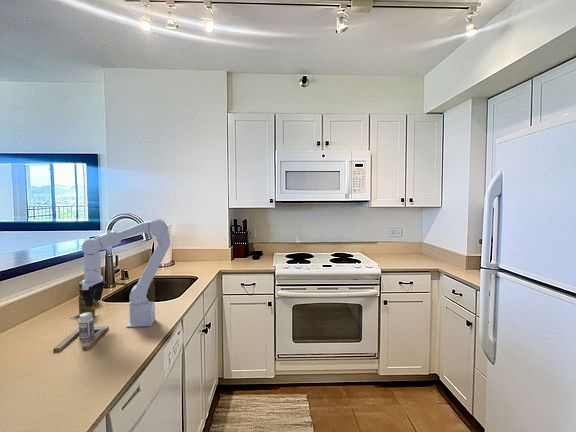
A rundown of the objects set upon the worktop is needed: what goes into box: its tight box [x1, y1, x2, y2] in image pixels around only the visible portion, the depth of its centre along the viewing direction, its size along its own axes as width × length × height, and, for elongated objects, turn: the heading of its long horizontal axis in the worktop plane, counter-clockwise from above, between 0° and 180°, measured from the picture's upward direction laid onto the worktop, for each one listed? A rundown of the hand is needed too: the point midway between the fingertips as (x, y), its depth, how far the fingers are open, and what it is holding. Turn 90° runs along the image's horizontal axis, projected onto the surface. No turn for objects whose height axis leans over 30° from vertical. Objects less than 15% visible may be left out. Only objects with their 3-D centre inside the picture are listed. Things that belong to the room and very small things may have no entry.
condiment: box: [70, 292, 100, 321], centre depth 143 cm, size 7×8×12 cm
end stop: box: [74, 325, 109, 334], centre depth 127 cm, size 11×3×1 cm, turn 99°
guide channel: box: [52, 329, 107, 353], centre depth 118 cm, size 11×15×1 cm
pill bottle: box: [78, 312, 95, 339], centre depth 123 cm, size 5×5×8 cm
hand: (93, 303), depth 129 cm, fingers open, 7 cm apart
